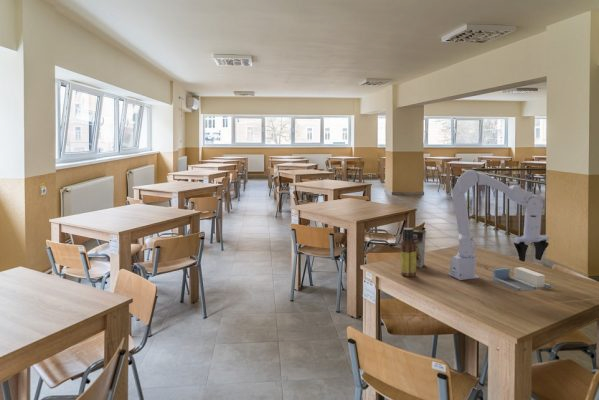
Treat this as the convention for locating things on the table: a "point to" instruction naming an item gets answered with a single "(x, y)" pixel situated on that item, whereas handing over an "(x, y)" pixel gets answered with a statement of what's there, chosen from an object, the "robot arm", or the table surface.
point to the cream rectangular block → (529, 276)
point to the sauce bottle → (408, 254)
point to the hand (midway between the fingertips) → (530, 260)
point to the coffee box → (419, 246)
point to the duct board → (514, 281)
